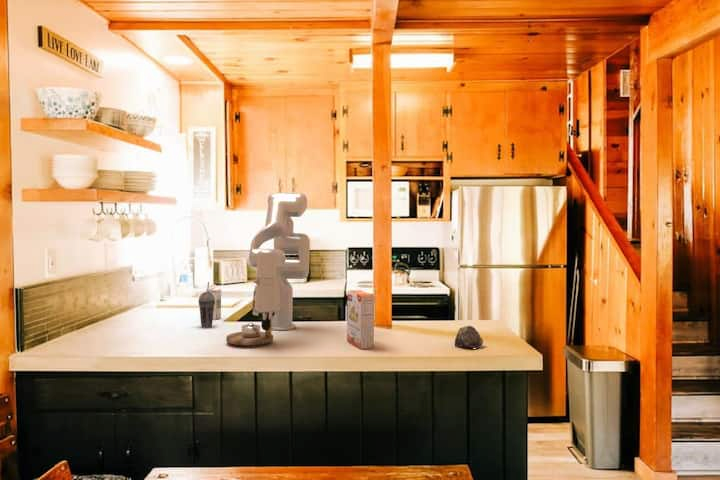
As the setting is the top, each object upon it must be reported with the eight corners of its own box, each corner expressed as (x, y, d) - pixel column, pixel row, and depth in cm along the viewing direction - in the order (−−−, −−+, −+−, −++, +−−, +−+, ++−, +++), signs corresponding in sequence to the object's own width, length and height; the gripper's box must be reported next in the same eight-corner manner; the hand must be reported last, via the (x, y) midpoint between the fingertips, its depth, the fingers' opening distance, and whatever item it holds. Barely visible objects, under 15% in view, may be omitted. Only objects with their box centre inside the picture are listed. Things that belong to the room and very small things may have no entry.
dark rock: (475, 350, 222) (464, 325, 224) (456, 357, 227) (445, 334, 229) (487, 344, 230) (476, 320, 232) (468, 351, 235) (458, 328, 237)
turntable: (219, 343, 221) (219, 321, 221) (236, 334, 239) (236, 313, 239) (264, 346, 219) (265, 323, 218) (278, 336, 236) (278, 315, 236)
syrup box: (209, 317, 281) (209, 287, 281) (221, 318, 280) (221, 288, 280) (204, 319, 276) (204, 289, 275) (216, 320, 275) (216, 289, 274)
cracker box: (345, 341, 234) (346, 290, 233) (359, 340, 236) (360, 289, 235) (359, 349, 221) (360, 295, 220) (374, 348, 224) (375, 294, 223)
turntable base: (231, 341, 230) (231, 339, 230) (257, 338, 236) (257, 336, 236) (242, 347, 221) (242, 345, 221) (268, 344, 227) (268, 341, 227)
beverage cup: (194, 327, 257) (194, 282, 256) (204, 324, 264) (205, 280, 263) (208, 329, 254) (208, 283, 253) (218, 326, 261) (218, 281, 260)
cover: (239, 337, 226) (239, 325, 225) (245, 334, 233) (245, 322, 232) (256, 338, 225) (256, 326, 224) (262, 334, 231) (262, 322, 231)
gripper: (252, 283, 217) (251, 332, 217) (288, 282, 225) (287, 329, 225) (244, 282, 223) (243, 329, 223) (280, 280, 231) (279, 326, 231)
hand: (265, 329), depth 224 cm, fingers closed
